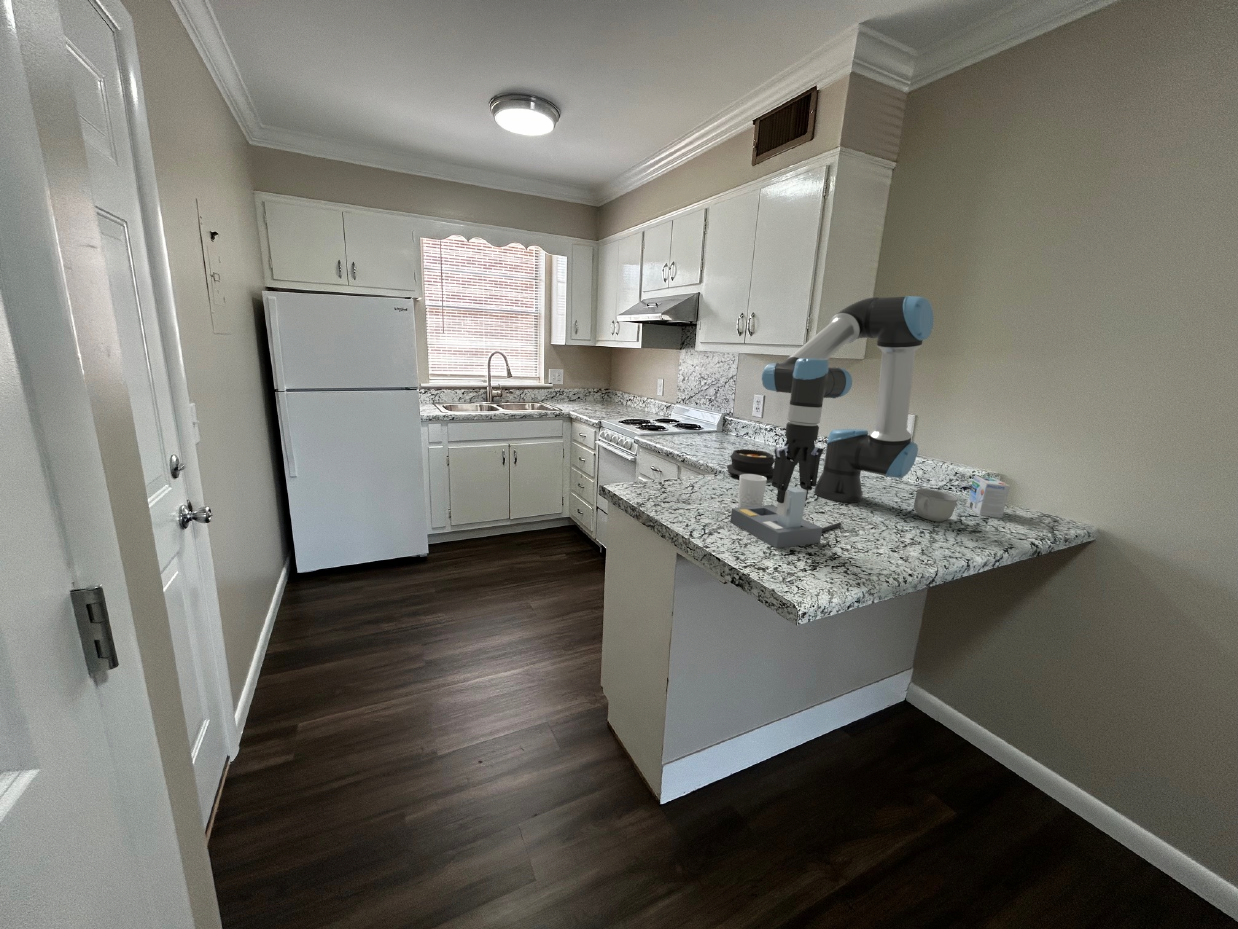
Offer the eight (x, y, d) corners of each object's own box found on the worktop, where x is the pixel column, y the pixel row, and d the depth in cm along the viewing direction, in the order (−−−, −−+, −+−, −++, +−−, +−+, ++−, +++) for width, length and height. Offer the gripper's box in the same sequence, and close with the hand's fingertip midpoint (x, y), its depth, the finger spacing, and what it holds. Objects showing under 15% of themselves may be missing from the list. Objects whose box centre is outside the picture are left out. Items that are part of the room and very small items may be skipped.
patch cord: (837, 525, 144) (838, 521, 144) (841, 526, 143) (841, 523, 143) (805, 535, 134) (805, 532, 133) (808, 537, 133) (809, 533, 133)
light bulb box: (966, 506, 172) (973, 475, 169) (988, 508, 170) (996, 477, 168) (979, 515, 162) (986, 483, 159) (1003, 518, 160) (1011, 485, 158)
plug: (787, 531, 133) (795, 487, 130) (798, 537, 130) (806, 491, 127) (773, 532, 131) (780, 487, 129) (783, 538, 128) (791, 492, 125)
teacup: (928, 511, 163) (933, 487, 161) (961, 523, 153) (966, 497, 151) (896, 514, 158) (901, 489, 156) (928, 526, 148) (933, 500, 146)
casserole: (764, 485, 183) (767, 462, 181) (715, 475, 192) (718, 453, 190) (783, 473, 204) (786, 452, 202) (738, 464, 213) (740, 445, 211)
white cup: (743, 503, 159) (746, 472, 157) (767, 509, 154) (771, 477, 152) (731, 508, 153) (735, 476, 151) (755, 515, 148) (760, 482, 146)
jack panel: (770, 518, 146) (772, 504, 145) (819, 542, 130) (822, 527, 129) (730, 522, 141) (731, 507, 140) (776, 548, 124) (778, 532, 123)
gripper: (819, 420, 131) (806, 506, 136) (763, 420, 124) (751, 511, 129) (842, 425, 124) (827, 516, 129) (784, 425, 117) (771, 521, 122)
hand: (789, 513), depth 129 cm, fingers closed on plug, 5 cm apart
